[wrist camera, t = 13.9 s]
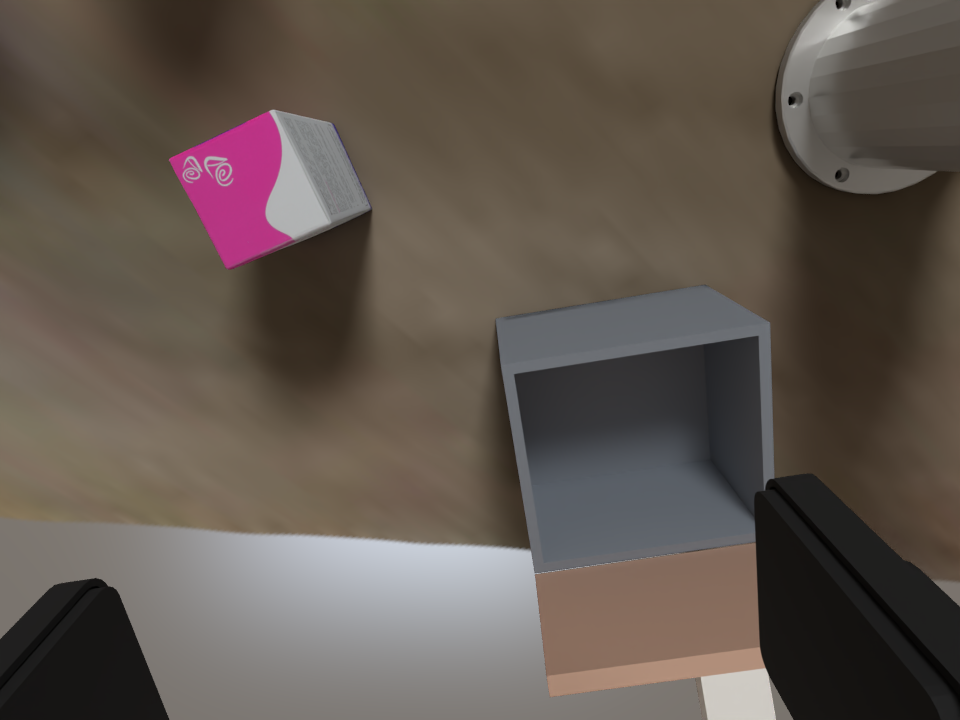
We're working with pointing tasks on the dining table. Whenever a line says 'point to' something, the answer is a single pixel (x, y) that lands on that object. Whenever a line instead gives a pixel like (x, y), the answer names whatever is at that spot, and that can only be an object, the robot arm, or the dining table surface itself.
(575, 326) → the carton
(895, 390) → the dining table surface
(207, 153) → the supplement box
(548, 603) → the lid
